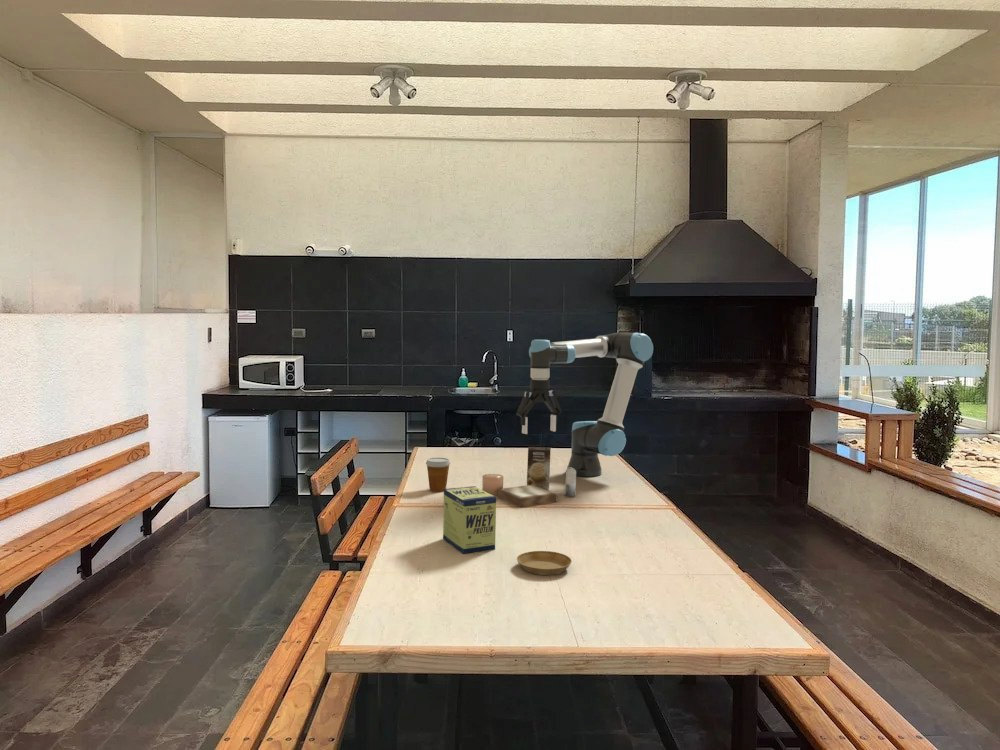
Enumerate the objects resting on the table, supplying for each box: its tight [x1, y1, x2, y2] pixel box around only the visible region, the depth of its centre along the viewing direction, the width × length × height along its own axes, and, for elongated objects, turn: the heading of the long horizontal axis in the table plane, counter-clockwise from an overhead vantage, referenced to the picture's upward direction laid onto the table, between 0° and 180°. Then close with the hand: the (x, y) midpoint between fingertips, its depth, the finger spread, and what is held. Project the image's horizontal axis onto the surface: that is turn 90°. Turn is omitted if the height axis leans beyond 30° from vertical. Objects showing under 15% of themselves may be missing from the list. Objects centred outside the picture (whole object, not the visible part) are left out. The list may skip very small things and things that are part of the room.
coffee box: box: [526, 446, 552, 491], centre depth 277 cm, size 9×6×16 cm
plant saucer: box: [516, 550, 573, 576], centre depth 187 cm, size 15×15×3 cm
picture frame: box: [496, 484, 558, 508], centre depth 259 cm, size 16×16×3 cm
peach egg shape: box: [481, 473, 504, 498], centre depth 267 cm, size 8×8×7 cm
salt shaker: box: [564, 467, 577, 498], centre depth 266 cm, size 4×4×11 cm
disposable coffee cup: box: [425, 457, 451, 493], centre depth 271 cm, size 10×10×12 cm
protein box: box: [442, 485, 497, 555], centre depth 206 cm, size 10×16×16 cm
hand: (539, 432), depth 276 cm, fingers open, 13 cm apart
